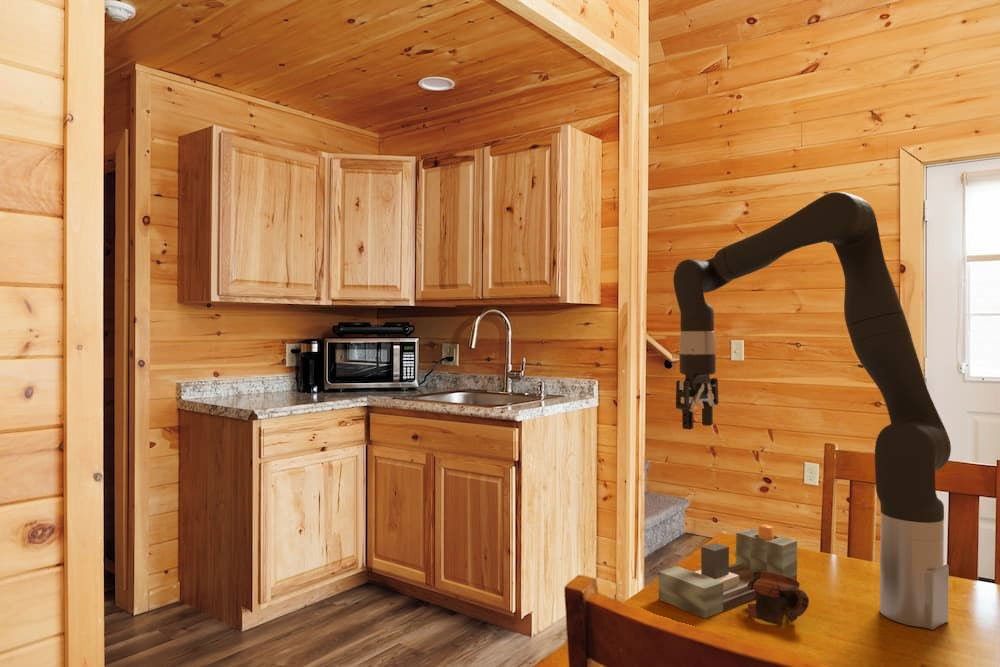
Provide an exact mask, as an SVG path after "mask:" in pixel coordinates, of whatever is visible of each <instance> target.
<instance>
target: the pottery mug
mask: <svg viewBox="0 0 1000 667" xmlns="http://www.w3.org/2000/svg"><path fill="white" fill-rule="evenodd" d="M754 575H755V578H754V579H752V580H751V581H750V582H749V583H748V585H747V586H748V587H750V586H751V588H750V590H753V589H754V590H755V591H756V592H755V596H756V599H755V603H748V604H747V613H748V616H747V617H748V618H752V619H757V620H760V621H763V622H766V623H770V624H774V625H777V626H779V627H780V626H782V624H783V619H784V618H785V616H786V618H787V619H788V620H789V621H790V622H792V621H796V620H797V619H798V617H800V616H802V615H804V613H805V612H806V611H807V610H808V608H809V604H810V600H809V595H808V594H807V593H806V591H804V590H801V589H800V588H799V587H800V585H801V584H800V582H799V581H798V579H797V580H795V579H793V578H791V577H788V576H785V575H781V574H777V573H772V572H763V571H757V572H755V573H754Z"/></svg>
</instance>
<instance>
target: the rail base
mask: <svg viewBox="0 0 1000 667" xmlns="http://www.w3.org/2000/svg"><path fill="white" fill-rule="evenodd" d="M758 532H759V529H755V528H748V529H745V530H741V531H738V532H735V538H736V539H735V544H736V545H735V557H736V558H735V563H733V564H730V565H729V572H730V573H733V574H736V575H739V587H736V588H733V589H730V590H728V591H725V592H723V582H721V581H718V580H715V579H712V578H710V577H707V576H704V575H701V574H698V573H695V571H693V570H690V569H687V568H683V567H681V566H678V565H675V566H672V567H669V568H666V569H665V568H664V569H662V570H659V571H658V600H659V601H662V602H664V603H667V604H669V605H671V606H675V607H677V608H679V609H681V610H684V611H686V612H688V613H691V614H693V615H696V616H698V617H701V618H703V619H706V618H709V617H712V616H714V615H717V614H720V613H722V612H725V611H728V610H730V609H733V608H735V607H737V606H740V605H742V604H744V603H748V602H750V601H753V600H754V599H755V600H756V596H755V592H756V591H755V590H754V589H753V590H750V588H751V586H750V587H748V586H747V585H748V583H749V582H750V581H751V580H752V579H754V578H755V575H754V573H755V572H757V571H763V572H772V573H777V574H781V575H785V576H788V577H791V578H793V579H795V580H797V581H798V540H795V539H792V538H789V537H783V536H781V535H777V534H774V539H773V540H770V541H768V540H765V539H761V538H758Z"/></svg>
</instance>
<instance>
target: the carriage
mask: <svg viewBox="0 0 1000 667" xmlns="http://www.w3.org/2000/svg"><path fill="white" fill-rule="evenodd" d="M700 548H701V550H700V551H701V552H700V553H701V554H700V556H701V557H700V558H701V559H700V561H701V564H700V566H701V567H700V568H701V569H698V570H696V571H694V572H695V573H698V574H701V575H704V576H707V577H710V578H712V579H715V580H718V581H721V582H723V592H725V591H728V590H730V589H733V588H736V587H739V575H736V574H733V573H730V572H729V566H730V565H729V564H730V551H729V550H730V546H727V545H724V544H721V543H717V542H713V543H709V544H706V545H702V546H700Z"/></svg>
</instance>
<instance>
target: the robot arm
mask: <svg viewBox="0 0 1000 667" xmlns="http://www.w3.org/2000/svg"><path fill="white" fill-rule="evenodd" d="M820 243H821V244H822V243H828V244H832V245H833V248H834V249H835V252H836V254H837V257H838V260H839V262H840V265H841V269H842V272H843V276H844V296H843V298H844V302H843V303H844V304H843V312H844V313H843V314H844V320H845V325H846V327H847V330H848V331H847V332H848V335H849V337H850V341H851V344H852V348H853V350H854V352H855V354H856V357H857V359H858V360H859V362H860V364H861V365H862V366H863V368H864V369H865V371H866V372H867V374H868V375H869V377H870V378H871V380H872V381H873V382H874V383H875V386H876V387H877V388H878V390H879V391H880V394H881V396H882V398H883V400H884V403H885V406H886V409H887V413H888V416H889V421H890V424H888V425H886V426H885V427H883V428H882V429H881V430H880V432H879V434H878V435H877V436H876V437H877V438H876V440H875V445H874V474H875V476H874V477H875V491H876V494H877V497H878V500H879V504H880V505H879V506H880V528H879V529H880V532H879V533H880V538H879V539H880V541H879V542H880V544H879V547H880V549H879V551H880V552H879V554H880V555H879V612H880V613H881V614H882V616H884V617H885V618H887V619H889V620H891V621H894V622H896V623H898V624H899V623H900V624H902V625H906V626H911V627H917V628H918V627H919V628H925V629H929V630H935V629H937V628H938V627H940V626H942V625H944V624H945V623H947V622H949V595H950V594H949V592H950V591H949V588H950V587H949V584H950V582H949V578H950V575H949V574H950V572H949V571H950V570H949V564H948V563H946V562H945V561H944V557H945V556H944V554H945V553H944V552H945V550H944V546H945V544H944V542H945V540H944V539H945V538H944V537H945V505H944V502H942V500H941V499H940V498H939V497H938V495H937V491H936V489H937V488H936V471H938V470H941V469H942V468H943V467H945V466H946V464H947V463H948V461H949V459H950V457H951V452H952V446H951V441H950V437H949V434H948V432H947V430H946V428H945V425H944V423H943V421H942V418H941V417H940V414H939V413H938V409H936V406H935V404H934V402H933V400H932V397H931V394H930V392H929V390H928V387H927V386H928V385H927V384H926V381H925V378H924V374H923V371H922V370H923V369H922V366H921V362H920V360H919V358H918V354H917V352H916V348H915V345H914V342H913V338H912V334H911V333H912V332H911V331H910V330H911V329H910V327H909V325H908V322H907V318H906V315H905V312H904V310H903V307H902V304H901V302H900V299H899V296H898V293H897V291H896V287H895V285H894V282H893V278H892V276H891V274H890V271H889V269H888V266H887V263H886V260H885V255H884V252H883V248H882V247H883V246H882V242H881V237H880V232H879V226H878V221H877V216H876V213H875V211H874V209H873V207H872V205H871V204H870V203H869V202H868V201H867V200H865V199H864V198H863V197H860V196H857V195H854V194H851V193H848V192H844V191H834V192H829V193H827V194H823V195H822V196H821V197H819V198H817V199H815V200H814V201H812V202H811V203H809V204H807V205H806V206H804V207H803V208H801V209H799V210H797V211H796V212H794V213H793V214H791V215H790V216H788V217H786V218H784V219H782V220H781V221H779V222H777V223H776V224H774V225H772V226H770V227H768V228H765V229H763V230H760V231H759V232H758V233H755V234H752V235H750V236H748V237H745V238H743V239H741V240H738V241H735V242H733V243H731V244H728V245H726V246H724V247H722V248H720V249H719V250H718V251H717V252H716V253H715V254H714V257H712V258H710V259H706V260H701V259H693V258H692V259H690V258H689V259H684V260H682V261H680V262H678V264H677V266H676V267H675V270H674V272H673V288H674V292H675V293H674V294H675V296H676V301H677V306H678V308H679V312H680V324H679V325H680V333H679V334H680V335H679V344H678V345H679V348H678V349H679V373H680V374H681V375H685V376H684V380H679V379H677V380H676V381H675V383H676V384H675V387H676V388H675V409H679V411H681V413H682V415H681V416H682V417H681V418H682V421H681V423H682V425H681V426H682V429H683V430H693V429H694V410H695V406H696V404H698V403H699V402H700V404H701V407H702V408H701V424H702V425H703V426H706V427H707V426H709V427H711V426H712V425H713V424H714V423H713V422H714V419H713V414H714V413H713V410H714V408H715V407H716V406H718V404H719V380H718V377H711V376H712V375H715V374H716V371H717V369H716V367H717V366H716V364H717V358H716V356H717V355H716V338H715V337H716V336H715V313H714V307H713V306H712V305H711V304H708V303H707V302H706V300H705V299H706V298H705V296H704V294H705V293H706V294H707V293H710V292H713V291H716V290H718V289H720V288H722V287H724V286H726V285H727V284H729V283H730V282H732V281H733V280H737V279H739V278H741V277H744V276H747V275H749V274H750V275H751V274H752V273H755V272H758V271H760V270H762V269H764V268H766V267H767V266H770V265H771V264H772V263H774V262H776V261H777V260H778V259H779V258H781V257H783V256H785V255H787V254H788V253H790V252H793V251H795V250H797V249H800V248H803V247H807V246H812V245H816V244H820ZM681 400H682V401H681Z"/></svg>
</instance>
